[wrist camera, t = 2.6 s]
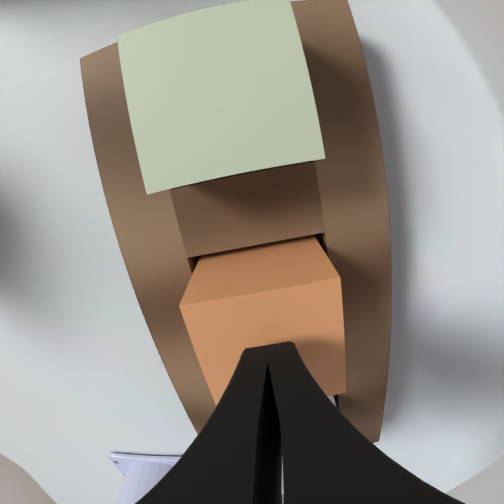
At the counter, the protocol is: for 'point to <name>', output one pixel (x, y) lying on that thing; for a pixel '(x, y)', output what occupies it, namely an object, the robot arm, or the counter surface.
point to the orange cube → (267, 309)
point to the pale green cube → (219, 93)
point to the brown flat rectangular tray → (262, 213)
